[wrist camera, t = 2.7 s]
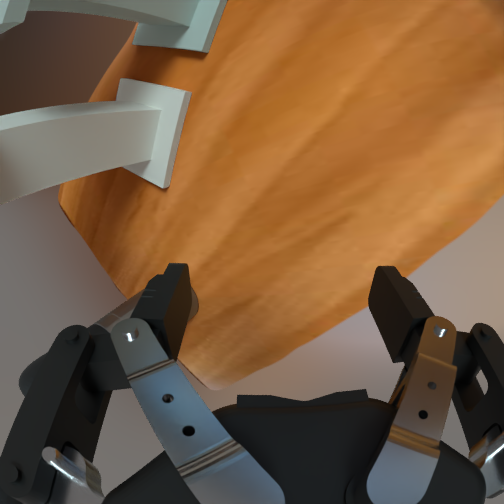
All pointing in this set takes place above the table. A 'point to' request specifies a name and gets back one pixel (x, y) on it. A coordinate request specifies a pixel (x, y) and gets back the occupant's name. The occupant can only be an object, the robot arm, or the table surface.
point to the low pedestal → (137, 18)
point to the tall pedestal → (93, 139)
